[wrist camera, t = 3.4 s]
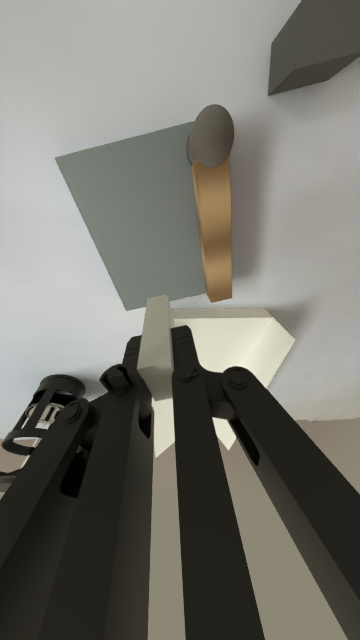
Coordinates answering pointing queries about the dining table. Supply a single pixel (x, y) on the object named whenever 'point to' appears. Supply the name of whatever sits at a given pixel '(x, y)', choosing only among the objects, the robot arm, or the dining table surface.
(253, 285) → the dining table surface
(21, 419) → the french press
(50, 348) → the dining table surface
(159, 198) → the stool seat
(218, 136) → the hinged leg
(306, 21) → the block
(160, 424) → the building model
